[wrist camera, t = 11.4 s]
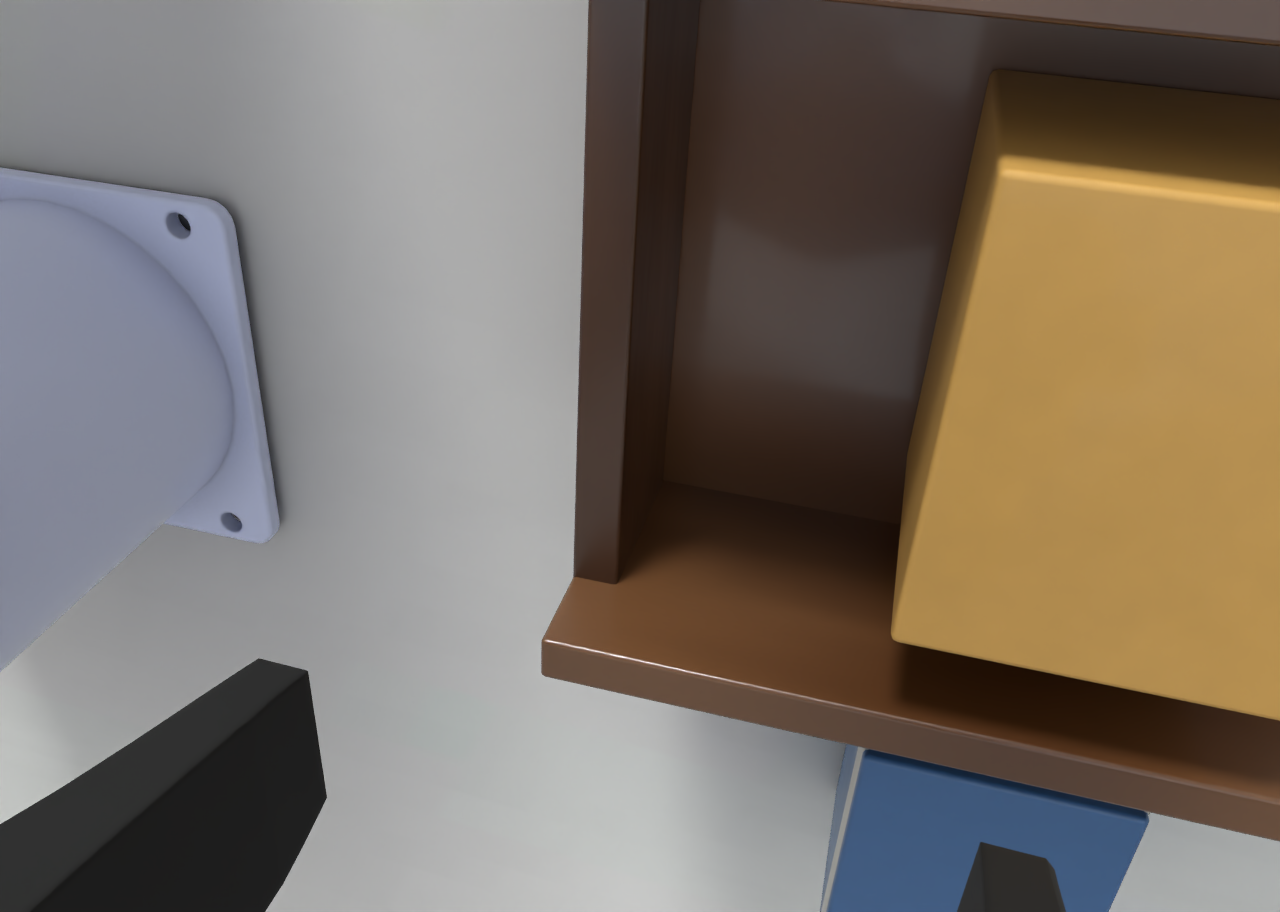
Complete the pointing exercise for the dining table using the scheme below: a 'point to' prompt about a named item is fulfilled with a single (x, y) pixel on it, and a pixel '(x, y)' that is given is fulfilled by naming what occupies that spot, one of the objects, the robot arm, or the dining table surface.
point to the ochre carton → (1106, 397)
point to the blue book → (962, 836)
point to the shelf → (833, 377)
